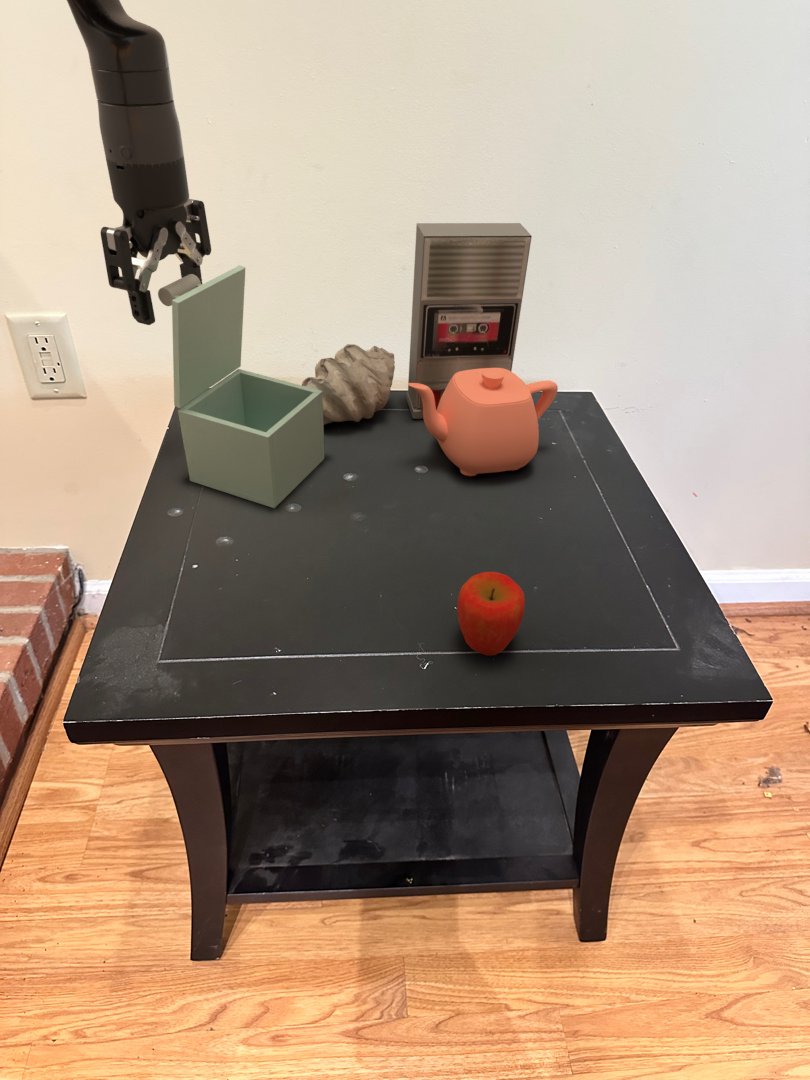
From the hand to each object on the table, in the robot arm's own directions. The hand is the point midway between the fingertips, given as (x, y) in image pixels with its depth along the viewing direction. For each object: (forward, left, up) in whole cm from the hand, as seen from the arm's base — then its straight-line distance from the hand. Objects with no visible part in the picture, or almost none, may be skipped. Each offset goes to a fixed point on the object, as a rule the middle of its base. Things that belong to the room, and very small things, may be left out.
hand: (170, 309), depth 83 cm
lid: (0, -5, -2) cm, 6 cm away
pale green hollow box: (0, -10, -19) cm, 21 cm away
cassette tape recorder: (+27, -26, -19) cm, 42 cm away
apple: (-15, -45, -19) cm, 52 cm away
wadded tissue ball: (+17, -13, -19) cm, 29 cm away
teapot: (+16, -33, -19) cm, 42 cm away
